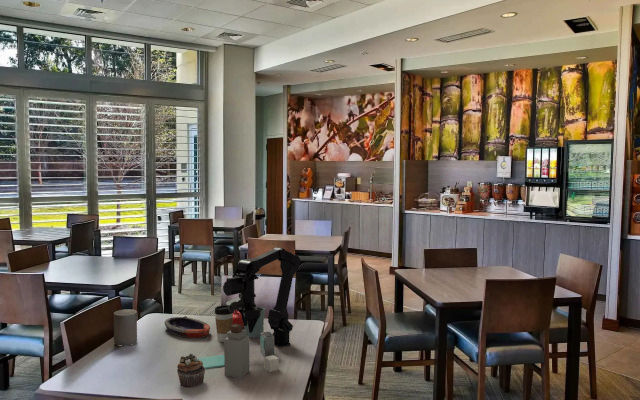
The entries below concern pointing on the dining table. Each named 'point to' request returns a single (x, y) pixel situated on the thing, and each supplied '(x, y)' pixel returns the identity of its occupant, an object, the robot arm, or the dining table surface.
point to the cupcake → (190, 371)
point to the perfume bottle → (236, 352)
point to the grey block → (271, 363)
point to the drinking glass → (258, 326)
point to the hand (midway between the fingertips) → (247, 329)
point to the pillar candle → (125, 327)
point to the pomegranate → (237, 318)
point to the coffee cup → (223, 321)
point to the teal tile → (212, 361)
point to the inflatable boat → (187, 327)
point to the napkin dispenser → (267, 344)
